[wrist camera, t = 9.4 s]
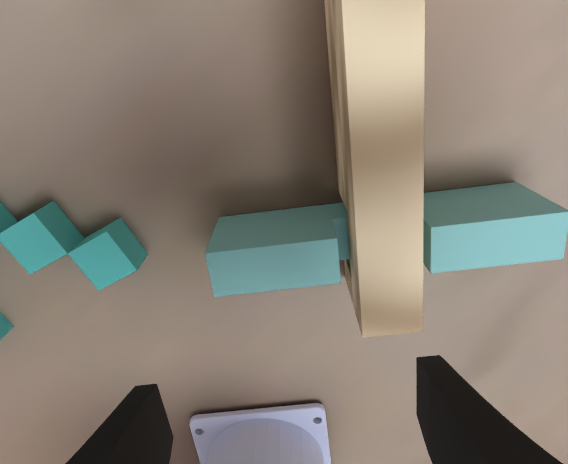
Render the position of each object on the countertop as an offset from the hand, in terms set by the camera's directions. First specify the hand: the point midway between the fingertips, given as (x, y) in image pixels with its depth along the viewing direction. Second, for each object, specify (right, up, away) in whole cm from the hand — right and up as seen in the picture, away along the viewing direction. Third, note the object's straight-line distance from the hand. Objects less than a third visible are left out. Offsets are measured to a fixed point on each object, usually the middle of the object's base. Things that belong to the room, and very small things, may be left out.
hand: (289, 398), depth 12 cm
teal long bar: (+4, +5, +9) cm, 11 cm away
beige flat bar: (+3, +9, +7) cm, 12 cm away
